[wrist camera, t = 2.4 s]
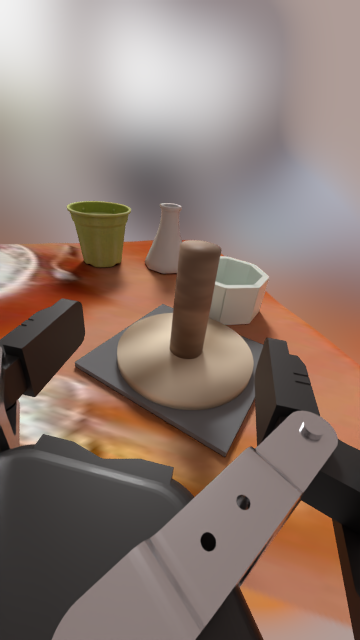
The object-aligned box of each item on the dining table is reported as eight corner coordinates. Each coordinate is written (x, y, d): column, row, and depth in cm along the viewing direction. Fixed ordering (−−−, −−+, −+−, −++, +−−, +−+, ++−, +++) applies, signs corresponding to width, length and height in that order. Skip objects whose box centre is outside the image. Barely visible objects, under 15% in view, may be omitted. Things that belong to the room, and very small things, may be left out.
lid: (86, 363, 25) (73, 243, 19) (167, 308, 34) (175, 217, 28) (216, 439, 20) (254, 307, 14) (267, 349, 29) (302, 249, 23)
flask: (137, 262, 48) (138, 200, 42) (170, 256, 52) (175, 199, 46) (161, 278, 43) (165, 211, 38) (195, 270, 47) (204, 209, 42)
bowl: (169, 305, 36) (173, 270, 33) (204, 281, 43) (209, 251, 41) (241, 334, 32) (251, 296, 29) (265, 302, 39) (275, 270, 37)
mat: (75, 366, 25) (74, 362, 25) (162, 307, 35) (162, 304, 35) (224, 457, 19) (226, 452, 19) (276, 354, 30) (278, 350, 29)
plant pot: (73, 273, 41) (65, 213, 37) (73, 251, 49) (67, 199, 44) (135, 271, 44) (135, 215, 39) (126, 251, 52) (125, 202, 47)
